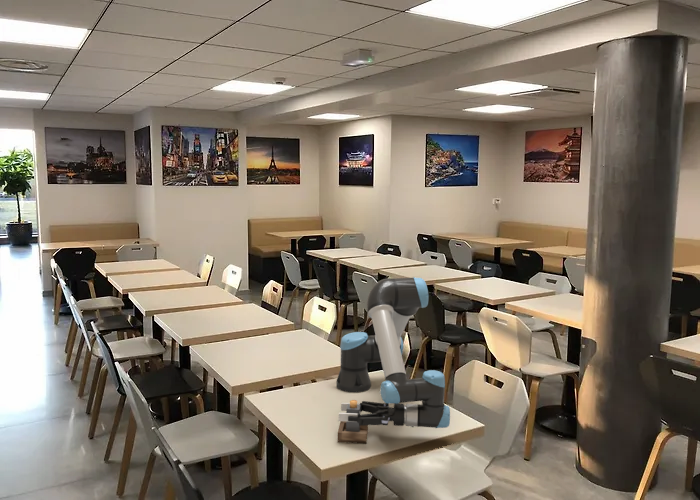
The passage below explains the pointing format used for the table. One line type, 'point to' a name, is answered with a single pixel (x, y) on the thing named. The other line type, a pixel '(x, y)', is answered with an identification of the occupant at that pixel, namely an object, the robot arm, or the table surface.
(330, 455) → the table surface
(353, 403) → the connector plug
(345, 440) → the holder
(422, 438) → the table surface
